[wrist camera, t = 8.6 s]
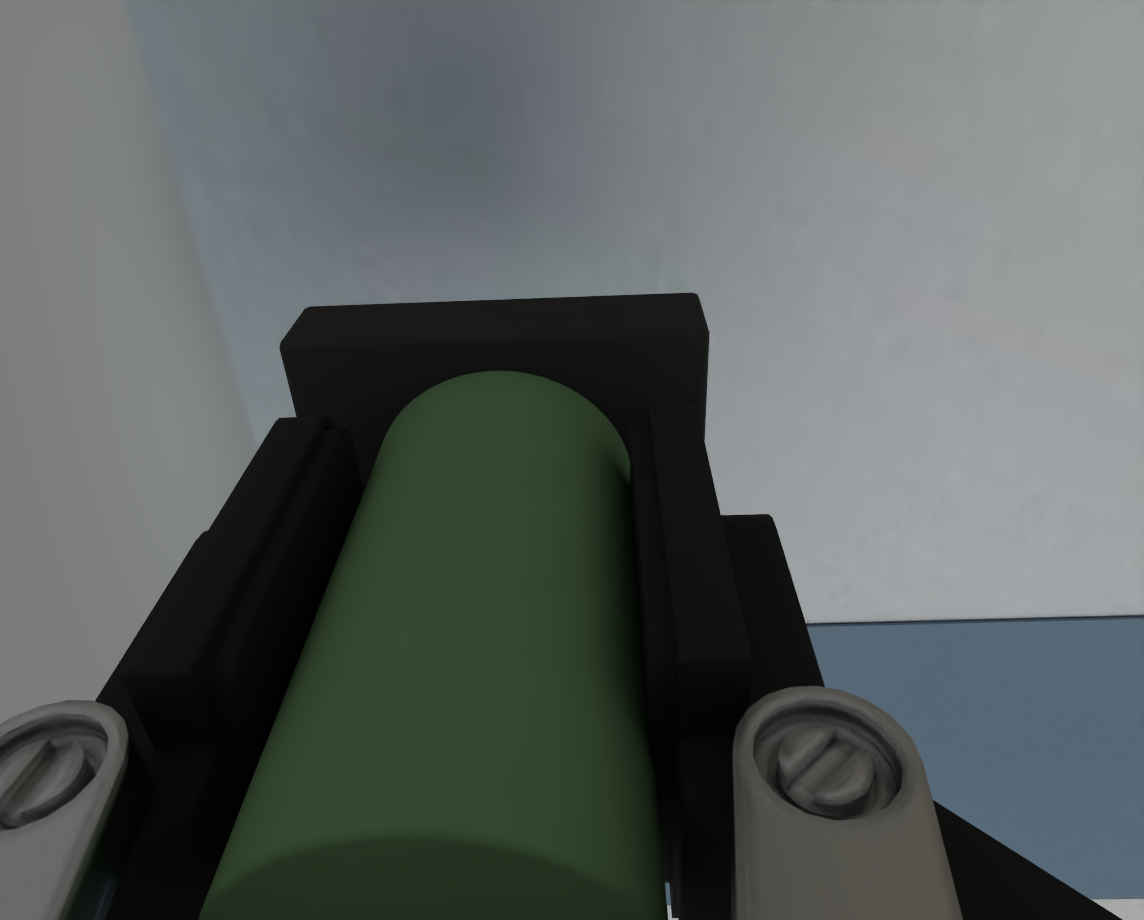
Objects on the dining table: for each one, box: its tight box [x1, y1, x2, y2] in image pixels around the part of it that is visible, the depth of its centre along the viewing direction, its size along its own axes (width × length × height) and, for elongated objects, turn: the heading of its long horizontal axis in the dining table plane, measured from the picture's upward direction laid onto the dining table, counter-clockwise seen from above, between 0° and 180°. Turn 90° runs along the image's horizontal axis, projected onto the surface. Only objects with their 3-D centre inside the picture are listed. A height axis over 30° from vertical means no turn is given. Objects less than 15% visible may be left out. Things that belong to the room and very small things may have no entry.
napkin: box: [665, 616, 1144, 905], centre depth 32 cm, size 21×16×1 cm
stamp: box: [199, 293, 709, 920], centre depth 9 cm, size 5×4×7 cm
